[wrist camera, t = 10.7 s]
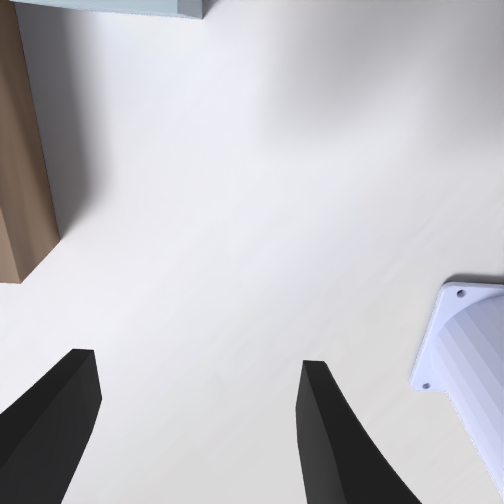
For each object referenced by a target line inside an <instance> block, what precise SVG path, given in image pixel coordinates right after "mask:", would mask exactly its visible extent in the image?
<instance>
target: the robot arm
mask: <svg viewBox="0 0 504 504" xmlns="http://www.w3.org/2000/svg"><path fill="white" fill-rule="evenodd" d="M460 290H463V291H462V292H460V293H457V292H458V291H460ZM425 383H426V384H425ZM409 385H410V387H411V389H412V390H415V391H431V392H446V393H447V395H448V397H449V399H450V401H451V403H452V405H453V406H454V408H455V410H456V412H457V414H458V416H459V418H460V420H461V422H462V423H463V425H464V427H465V429H466V431H467V433H468V435H469V437H470V439H471V440H472V442H473V444H474V446H475V448H476V450H477V452H478V454H479V456H480V457H481V459H482V461H483V463H484V465H485V467H486V469H487V471H488V473H489V474H490V476H491V478H492V480H493V482H494V484H495V486H496V488H497V490H498V491H499V493H500V495H501V497H502V499H503V501H504V285H501V284H482V283H464V282H448V283H446V284H444V285H443V286H442V288H441V290H440V292H439V295H438V298H437V301H436V304H435V307H434V310H433V313H432V316H431V318H430V321H429V324H428V327H427V330H426V333H425V336H424V339H423V342H422V345H421V347H420V350H419V353H418V356H417V359H416V362H415V365H414V368H413V371H412V374H411V376H410V379H409ZM101 401H102V395H101V389H100V383H99V378H98V372H97V366H96V360H95V354H94V350H87V349H72V350H71V351H70V352H69V353H67V354H66V355H65V356H64V357H63V358H62V359H61V360H60V361H59V362H58V363H57V364H56V365H54V366H53V367H52V368H51V369H50V370H49V371H48V372H47V373H46V374H45V375H44V376H43V377H42V378H41V379H39V380H38V381H37V382H36V383H35V384H34V385H33V386H32V387H31V388H30V389H28V390H27V391H26V392H25V393H24V394H23V395H22V396H21V397H20V398H18V399H17V400H16V401H15V402H14V403H13V404H12V405H11V406H9V407H8V408H7V409H6V410H5V411H4V412H2V413H1V414H0V504H61V502H62V500H63V498H64V495H65V493H66V491H67V489H68V486H69V484H70V482H71V480H72V477H73V475H74V473H75V471H76V468H77V466H78V464H79V461H80V459H81V457H82V455H83V452H84V450H85V448H86V445H87V443H88V441H89V438H90V436H91V434H92V431H93V428H94V424H95V421H96V418H97V415H98V411H99V408H100V405H101ZM296 426H297V442H298V449H299V455H300V461H301V467H302V474H303V480H304V486H305V492H306V498H307V504H422V503H421V502H420V501H419V500H418V498H417V497H416V496H415V495H414V494H413V493H412V492H411V490H410V489H409V488H408V487H407V486H406V484H405V483H404V482H403V481H402V479H401V478H400V477H399V476H398V475H397V473H396V472H395V471H394V470H393V468H392V467H391V466H390V464H389V463H388V462H387V460H386V459H385V458H384V456H383V455H382V454H381V452H380V451H379V449H378V448H377V447H376V445H375V444H374V442H373V441H372V440H371V438H370V437H369V435H368V434H367V432H366V431H365V429H364V428H363V426H362V425H361V423H360V422H359V420H358V419H357V417H356V415H355V414H354V412H353V411H352V409H351V408H350V406H349V404H348V403H347V401H346V399H345V397H344V396H343V394H342V392H341V390H340V389H339V387H338V385H337V383H336V381H335V380H334V378H333V376H332V374H331V372H330V370H329V368H328V366H327V364H326V363H325V362H324V361H308V360H303V365H302V371H301V377H300V384H299V390H298V396H297V402H296Z"/></svg>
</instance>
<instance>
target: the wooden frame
mask: <svg viewBox="0 0 504 504" xmlns="http://www.w3.org/2000/svg"><path fill="white" fill-rule="evenodd" d="M59 242H60V240H59V235H58V229H57V224H56V219H55V214H54V209H53V203H52V198H51V193H50V188H49V183H48V178H47V172H46V167H45V162H44V157H43V152H42V147H41V141H40V136H39V131H38V126H37V121H36V116H35V110H34V105H33V100H32V95H31V90H30V85H29V79H28V74H27V69H26V64H25V59H24V53H23V48H22V43H21V38H20V33H19V28H18V22H17V17H16V12H15V7H14V2H13V1H9V0H0V283H17V284H21V283H22V282H23V281H24V280H25V278H26V277H27V276H28V275H29V274H30V273H31V272H32V271H33V270H34V269H35V268H36V267H37V266H38V264H39V263H40V262H41V261H42V260H43V259H44V258H45V257H46V256H47V255H48V254H49V253H50V252H51V251H52V249H53V248H54V247H55V246H56V245H57V244H58V243H59Z"/></svg>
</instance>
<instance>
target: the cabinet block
mask: <svg viewBox="0 0 504 504" xmlns="http://www.w3.org/2000/svg"><path fill="white" fill-rule="evenodd" d="M9 1H15V2H23V3H31V4H39V5H46V6H54V7H62V8H70V9H77V10H85V11H95V12H108V13H122V14H135V15H149V16H162V17H176V18H189V19H202V20H203V0H9Z"/></svg>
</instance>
